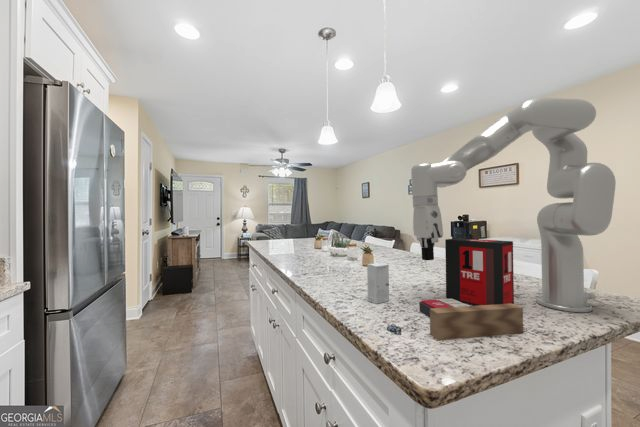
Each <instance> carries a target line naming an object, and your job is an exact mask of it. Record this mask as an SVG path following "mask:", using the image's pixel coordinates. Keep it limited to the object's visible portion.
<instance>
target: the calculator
mask: <svg viewBox="0 0 640 427" xmlns="http://www.w3.org/2000/svg"><path fill="white" fill-rule="evenodd" d="M418 306H419V307H418V308H419V312H420V313H422V314H423V315H425V316H426V317H428V318H429V319H430V309H431V308H447V307H463V306H470V305H468V304H464V303H462V302H459V301H457V300H454V299H446V298H438V299H423V300H421V301H419V305H418Z"/></svg>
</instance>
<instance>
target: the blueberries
mask: <svg viewBox="0 0 640 427" xmlns="http://www.w3.org/2000/svg"><path fill="white" fill-rule="evenodd" d="M386 330H387V331H388V332H390V333H393V334H394V335H397V336H401V335H402V327H401V326H397V325H396V324H395V323H392V324H389V325H388V326H387V328H386ZM407 330H409V329H406V332H408V331H407Z"/></svg>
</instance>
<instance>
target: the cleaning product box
mask: <svg viewBox="0 0 640 427" xmlns="http://www.w3.org/2000/svg"><path fill="white" fill-rule="evenodd" d="M514 282H515V281H514V242H513V241H511V240H497V239H495V240H494V239H479V238H462V237H461V238H460V237H455V238H448V239H447V238H446V239H445V299H454V300H457V301H459V302H462V303H464V304H467V305H469V306H479V305H495V304H511V303H512V304H515V295H514V294H515V293H514V292H515V288H514V287H515V285H514Z"/></svg>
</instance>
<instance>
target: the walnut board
mask: <svg viewBox="0 0 640 427" xmlns="http://www.w3.org/2000/svg"><path fill="white" fill-rule="evenodd" d="M523 333H524V307H522V306H520V305H517V304H515V303H514V304H512V303H511V304H495V305H479V306H472V305H469V306H463V307H447V308H431V309H430V318H429V334H430V335H431V336H432V337H433V338H435V340H437V341H440V340H442V341H443V340H453V339H465V338H467V339H469V338H480V337H489V336H502V335H503V336H504V335H514V334H523Z"/></svg>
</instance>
